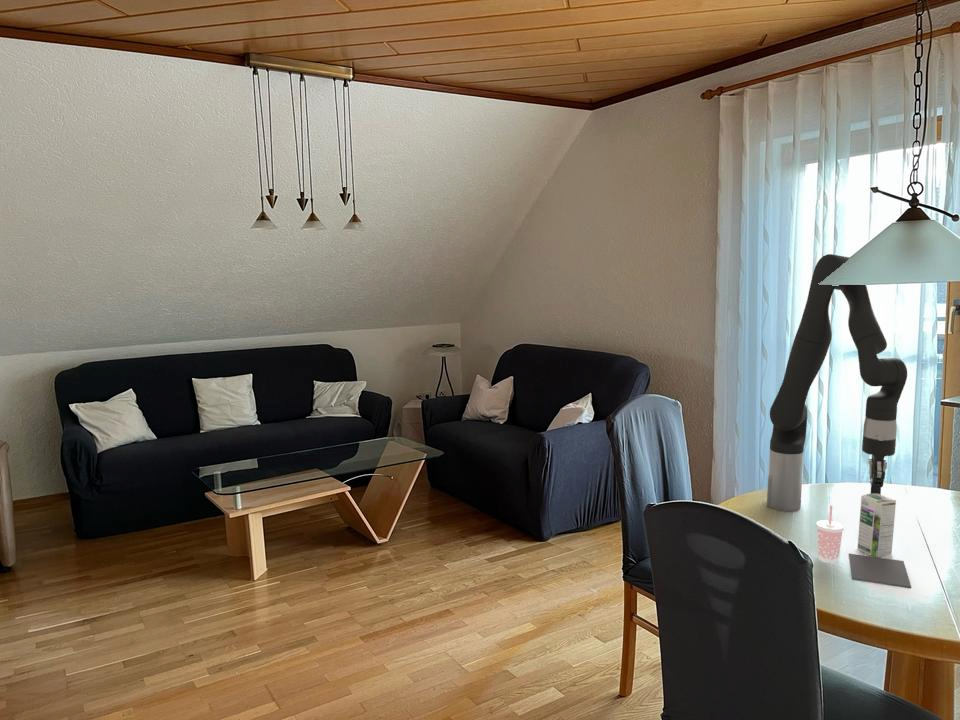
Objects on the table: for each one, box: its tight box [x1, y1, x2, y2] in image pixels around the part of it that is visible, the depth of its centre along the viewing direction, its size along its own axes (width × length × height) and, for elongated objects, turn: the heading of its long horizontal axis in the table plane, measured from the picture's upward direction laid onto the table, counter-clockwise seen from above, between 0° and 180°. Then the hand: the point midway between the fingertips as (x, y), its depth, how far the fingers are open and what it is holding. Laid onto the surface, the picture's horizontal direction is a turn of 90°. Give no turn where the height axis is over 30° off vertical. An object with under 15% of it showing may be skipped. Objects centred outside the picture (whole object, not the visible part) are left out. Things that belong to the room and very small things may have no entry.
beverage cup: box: [816, 504, 845, 564], centre depth 181 cm, size 6×6×14 cm
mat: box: [848, 553, 912, 589], centre depth 176 cm, size 12×15×1 cm
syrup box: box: [856, 493, 897, 558], centre depth 185 cm, size 6×6×14 cm
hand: (875, 499), depth 192 cm, fingers closed
